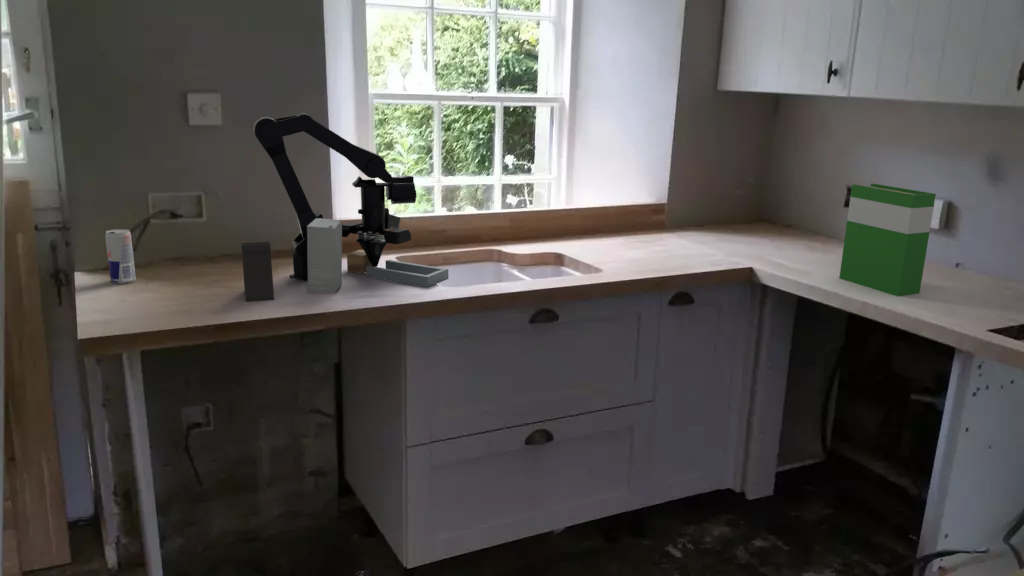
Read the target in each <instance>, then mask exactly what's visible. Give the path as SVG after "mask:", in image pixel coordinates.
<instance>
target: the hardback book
mask: <svg viewBox="0 0 1024 576" xmlns="http://www.w3.org/2000/svg"><path fill="white" fill-rule="evenodd" d="M936 194H937V193H932V192H927V191H921V190H915V189H908V188H903V187H897V186H891V185H885V184H880V183H879V184H878V183H874V182H873V183H870V186H866V185H860V184H851V190H850V196H849V205H848V211H847V219H846V227H845V232H844V233H845V235H844V242H843V248H842V249H843V250H842V256H841V264H840V269H839V279H840V280H843V281H847V282H850V283H853V284H857V285H860V286H862V287H865V288H869V289H873V290H876V291H879V292H882V293H885V294H889V295H892V296H895V297H902V296H910V295H917V294H920V292H921V286H922V281H923V274H924V267H925V261H926V256H927V250H928V244H929V237H930V232H931V227H932V219H933V213H934V207H935V202H936V201H935V200H936Z"/></svg>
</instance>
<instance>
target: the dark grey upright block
mask: <svg viewBox="0 0 1024 576" xmlns="http://www.w3.org/2000/svg"><path fill="white" fill-rule="evenodd" d="M240 245H241V258H242V271H243V272H242V273H243V286H244V297H245V302H246V303H247V302H258V301H270V300H271V301H274V300H275V291H274V278H273V268H272V266H273V265H272V253H271V251H272V250H271V242H270V241H262V242H241V244H240Z"/></svg>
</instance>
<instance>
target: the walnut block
mask: <svg viewBox="0 0 1024 576" xmlns="http://www.w3.org/2000/svg"><path fill="white" fill-rule="evenodd" d="M346 263H347V264H346V268H347V272H353V273H358V274H366V267H368V266H372V265H371V263H370V261H369V259H368V257H367V255H366V253H365V252H364V250H363V249H358V250H354V251H351V252H347V253H346Z"/></svg>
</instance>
